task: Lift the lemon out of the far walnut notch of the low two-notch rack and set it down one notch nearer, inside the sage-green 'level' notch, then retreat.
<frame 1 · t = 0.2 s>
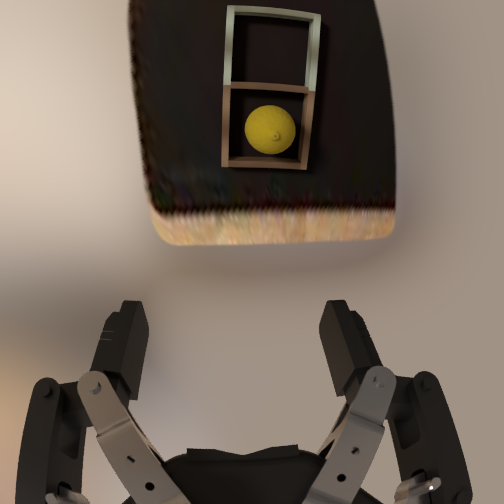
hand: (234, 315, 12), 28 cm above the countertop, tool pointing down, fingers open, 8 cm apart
notch rack: (268, 86, 30), on the countertop
lemon: (265, 123, 33), resting in notch rack
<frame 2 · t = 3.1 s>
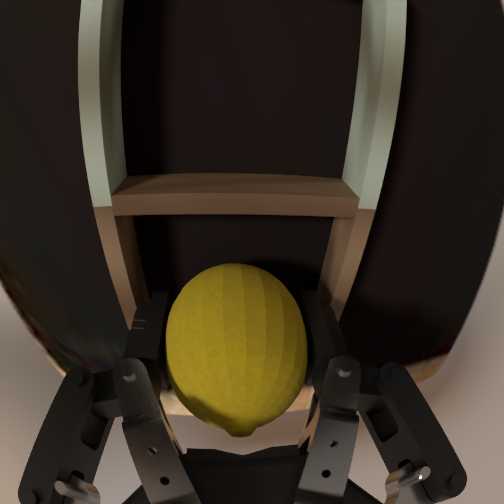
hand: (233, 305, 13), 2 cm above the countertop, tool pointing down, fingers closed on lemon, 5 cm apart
notch rack: (235, 182, 11), on the countertop
lemon: (232, 273, 14), resting in notch rack, touching gripper
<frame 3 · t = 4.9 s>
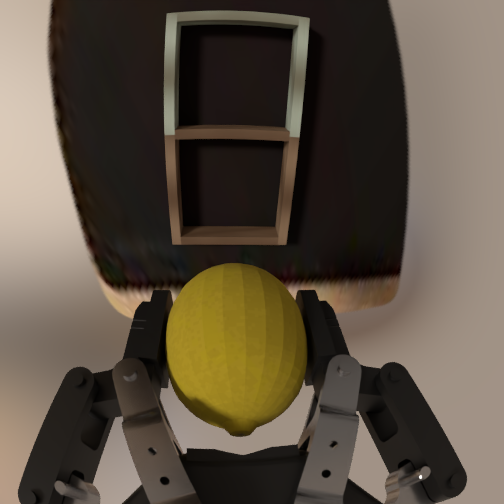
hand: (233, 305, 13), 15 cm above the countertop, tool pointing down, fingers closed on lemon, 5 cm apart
notch rack: (232, 129, 22), on the countertop
lemon: (232, 273, 14), point 13 cm above the countertop, touching gripper
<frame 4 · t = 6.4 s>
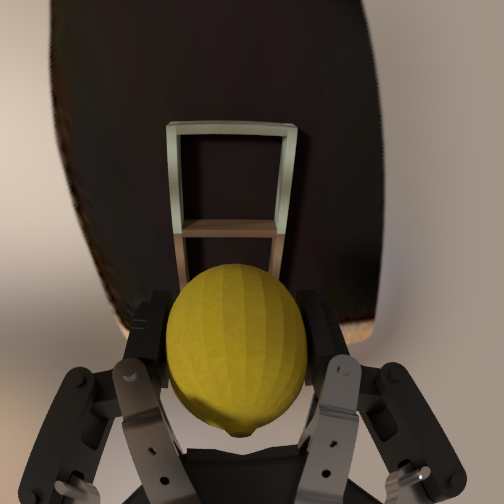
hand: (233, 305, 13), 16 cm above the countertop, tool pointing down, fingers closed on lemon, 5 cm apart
notch rack: (229, 223, 29), on the countertop
lemon: (232, 274, 14), point 14 cm above the countertop, touching gripper
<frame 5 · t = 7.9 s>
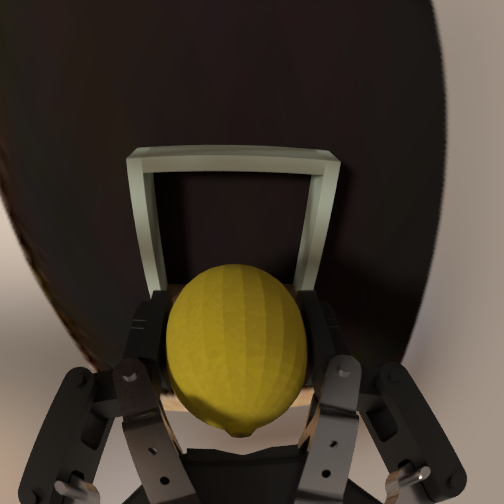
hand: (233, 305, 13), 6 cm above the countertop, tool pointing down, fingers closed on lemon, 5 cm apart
notch rack: (230, 288, 20), on the countertop
lemon: (232, 274, 14), point 4 cm above the countertop, touching gripper
when the fingers open (3 cm above the countertop, at t = 9.5 s): lemon drops 1 cm, resting in notch rack.
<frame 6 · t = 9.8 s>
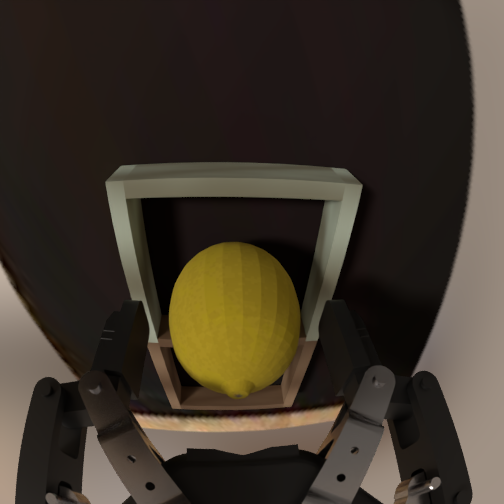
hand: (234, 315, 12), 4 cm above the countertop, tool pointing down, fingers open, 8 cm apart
notch rack: (231, 319, 18), on the countertop
lemon: (232, 255, 16), resting in notch rack
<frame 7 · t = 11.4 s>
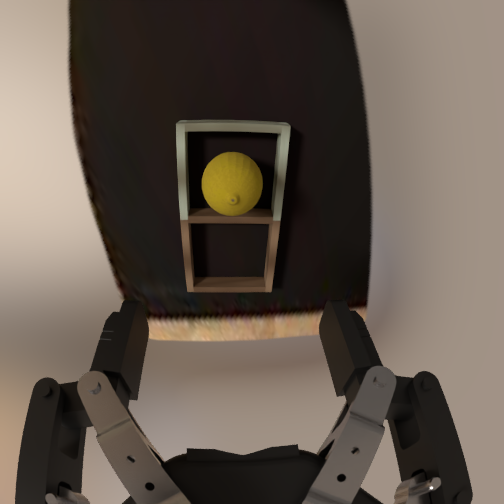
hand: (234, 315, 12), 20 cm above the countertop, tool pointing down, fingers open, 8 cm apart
notch rack: (230, 211, 32), on the countertop
lemon: (231, 168, 29), resting in notch rack
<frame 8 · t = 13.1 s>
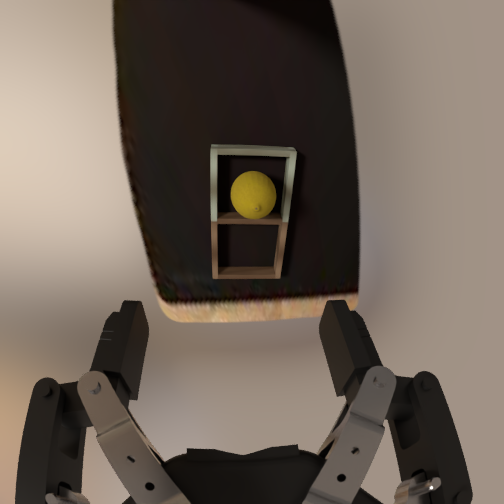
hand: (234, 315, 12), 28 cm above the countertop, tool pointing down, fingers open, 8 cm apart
notch rack: (249, 214, 41), on the countertop
lemon: (250, 182, 38), resting in notch rack
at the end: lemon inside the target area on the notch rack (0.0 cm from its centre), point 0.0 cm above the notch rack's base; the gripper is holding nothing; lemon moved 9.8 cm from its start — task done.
